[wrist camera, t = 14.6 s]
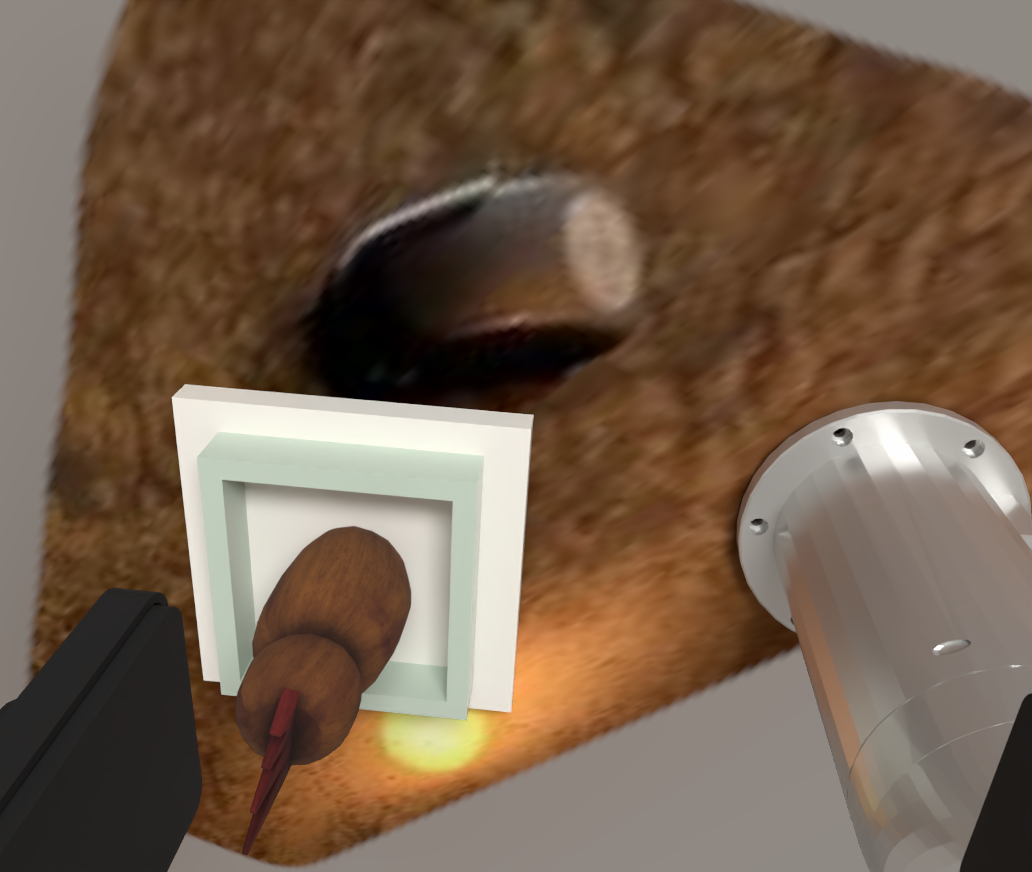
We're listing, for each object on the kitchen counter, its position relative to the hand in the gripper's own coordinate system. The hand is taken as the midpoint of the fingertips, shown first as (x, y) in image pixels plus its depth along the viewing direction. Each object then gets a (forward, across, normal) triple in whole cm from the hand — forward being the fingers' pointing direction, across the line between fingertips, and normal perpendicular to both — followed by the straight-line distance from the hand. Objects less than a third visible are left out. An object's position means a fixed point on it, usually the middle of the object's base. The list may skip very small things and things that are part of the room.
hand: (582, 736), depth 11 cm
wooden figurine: (+29, +10, +18) cm, 35 cm away
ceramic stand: (+30, +10, +18) cm, 37 cm away
